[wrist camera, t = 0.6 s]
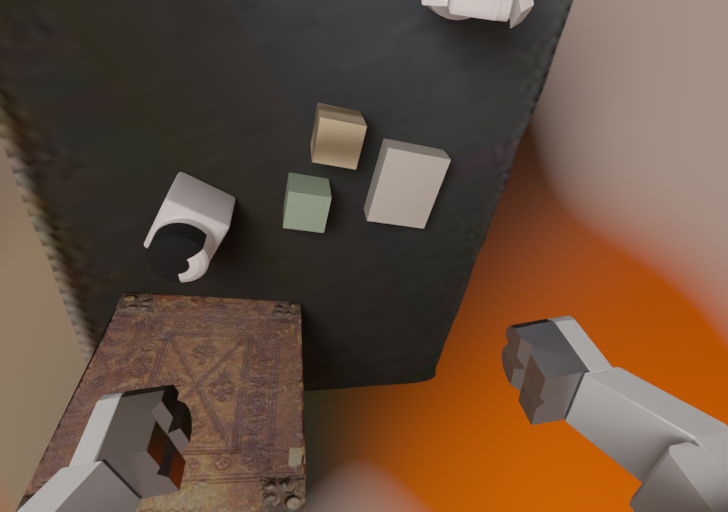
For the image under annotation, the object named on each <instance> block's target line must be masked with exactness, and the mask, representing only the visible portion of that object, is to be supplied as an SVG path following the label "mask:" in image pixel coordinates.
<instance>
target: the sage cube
mask: <svg viewBox="0 0 728 512" xmlns="http://www.w3.org/2000/svg"><path fill="white" fill-rule="evenodd" d="M331 199H332V197H331V190H330V184H329V179H326V178H320V177H314V176H307V175H301V174H295V173H289V175H288V182H287V188H286V195H285V201H284V211H283V228H289V229H296V230H304V231H312V232H320V233H324V230H325V225H326V221H327V216H328V212H329V208H330V203H331Z"/></svg>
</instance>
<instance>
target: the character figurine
mask: <svg viewBox="0 0 728 512" xmlns="http://www.w3.org/2000/svg"><path fill="white" fill-rule="evenodd" d="M422 5H427V6H428V7H429V9H431V10H432V11H433V12H435V13H436V14H438V15H440V16H443V17H445V18H447V19H452V20H463V19H468V18H470V17H473V18H480V19H486V20H493V21H506V22H507V21H508V19H509V17H510V29H511V28H512V27H514V26H515V25H517V24H519V23H520V22H522V21H523V19H524V18H525V17H526V16H527V14H528V13H529V12H530V10H531V9H532V7H533V5H534V3H533V0H422Z"/></svg>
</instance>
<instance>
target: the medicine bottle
mask: <svg viewBox="0 0 728 512" xmlns="http://www.w3.org/2000/svg"><path fill="white" fill-rule="evenodd" d="M235 200H236V199H235V197H234V196H231V195H229V194H227V193H225V192H223V191H221V190H219V189H217V188H215V187H213V186H211V185H208V184H206V183H204V182H202V181H200V180H198V179H196V178H194V177H192V176H190V175H187V174H185V173H183V172H179V173H178V174H177V176H176V178H175V180H174V182H173V184H172V186H171V188H170V190H169V192H168V194H167V196H166V198H165V200H164V202H163V204H162V206H161V208H160V210H159V213H158V215H157V217H156V219H155V221H154V223H153V225H152V227H151V230H150V232H149V234H148V236H147V238H146V240H145V242H144V246H145V247H146V248H148V249H147V252H146V259H147V262H148V264H149V266H150V268H151V269H152V270H153V271H154V272H155V273H156V274H158V275H159V276H160V277H162V278H164V279H167V280H169V281H173V282H189V281H193V280H196V279H198V278H200V277H201V276H202V275H203V274H204V273H205V272H206V271H207V269H208V265H209V262H210V260H211V259H212V257H213V255H214V253H215V252H216V250H217V248H218V247H219V245H220V243H221V242H222V240H223V238H224V236H225V235H226V233H227V231H228V230H229V227H230V222H231V218H232V213H233V209H234V204H235Z"/></svg>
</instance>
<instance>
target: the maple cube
mask: <svg viewBox="0 0 728 512" xmlns="http://www.w3.org/2000/svg"><path fill="white" fill-rule="evenodd" d="M366 129H367V125H366V123H365V121H364V118H363V116H362V114H361V112H359V111H355V110H350V109H345V108H340V107H336V106H331V105H326V104H322V103H318V105H317V111H316V116H315V122H314V128H313V133H312V139H311V144H310V146H311V155H312V162H314V163H320V164H326V165H332V166H338V167H344V168H349V169H355V170H356V168H357V164H358V160H359V156H360V152H361V148H362V144H363V141H364V137H365V133H366Z"/></svg>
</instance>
